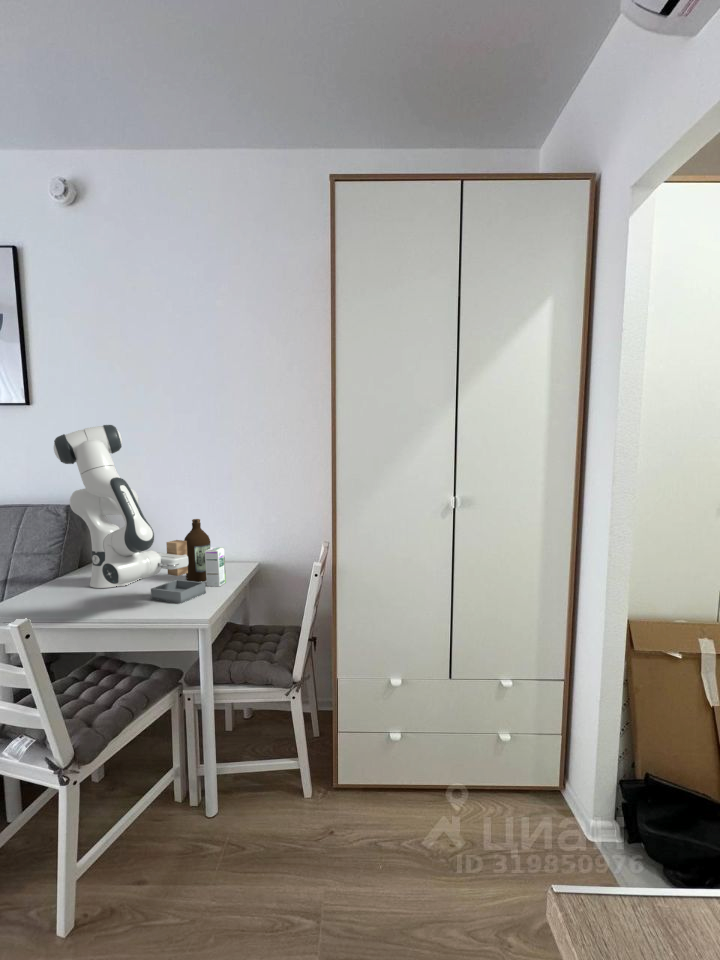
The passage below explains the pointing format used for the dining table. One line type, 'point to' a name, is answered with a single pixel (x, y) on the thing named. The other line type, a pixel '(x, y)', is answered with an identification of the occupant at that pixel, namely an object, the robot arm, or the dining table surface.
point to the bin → (178, 591)
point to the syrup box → (215, 567)
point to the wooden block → (177, 549)
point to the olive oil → (196, 552)
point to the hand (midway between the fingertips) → (179, 555)
